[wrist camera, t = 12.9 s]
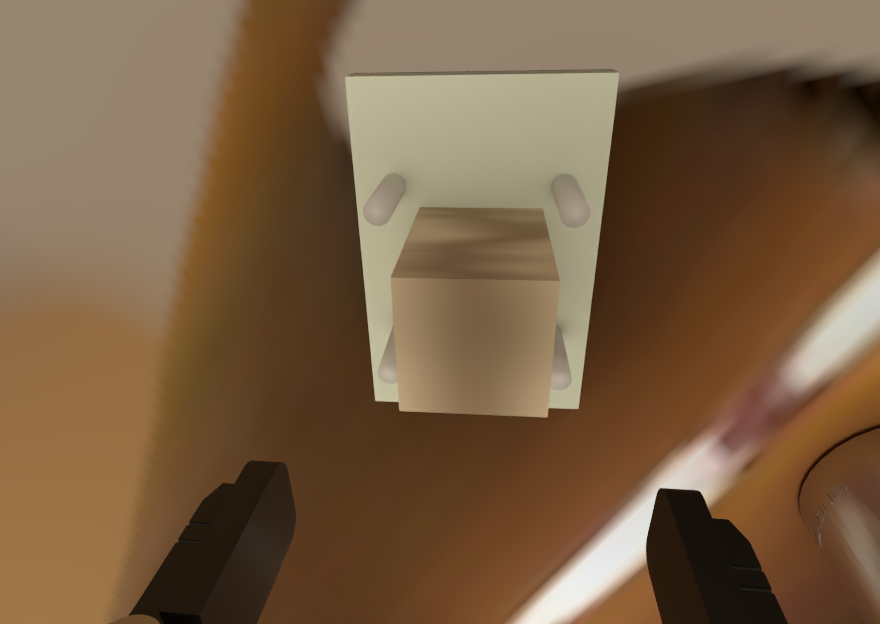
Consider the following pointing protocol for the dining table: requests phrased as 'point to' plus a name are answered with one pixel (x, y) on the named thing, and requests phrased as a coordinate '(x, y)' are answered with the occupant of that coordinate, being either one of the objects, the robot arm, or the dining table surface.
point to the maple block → (475, 312)
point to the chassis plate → (483, 181)
